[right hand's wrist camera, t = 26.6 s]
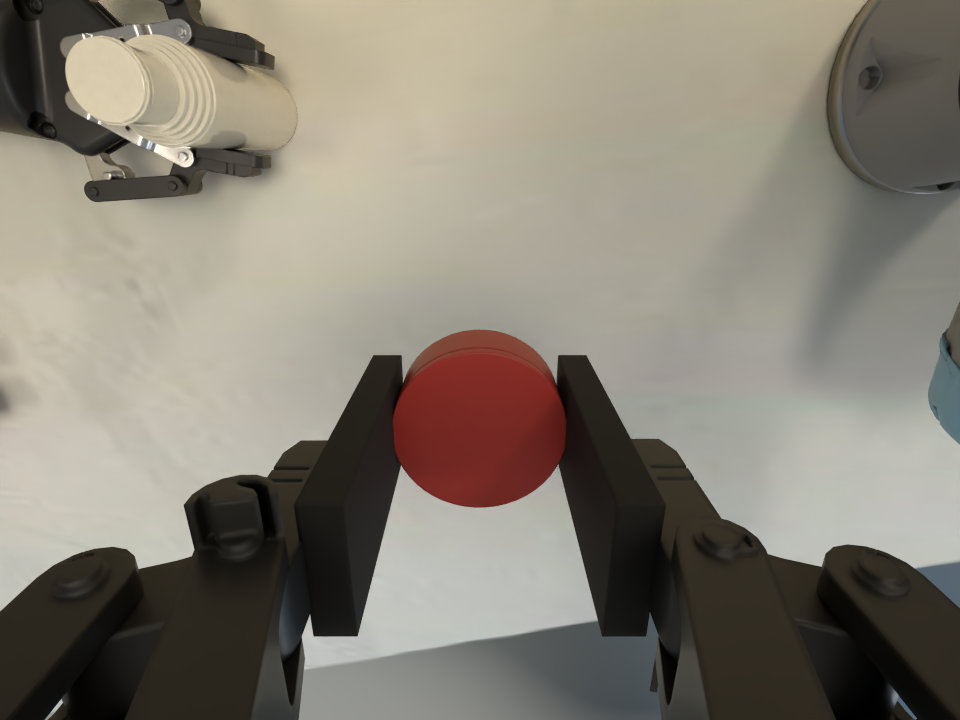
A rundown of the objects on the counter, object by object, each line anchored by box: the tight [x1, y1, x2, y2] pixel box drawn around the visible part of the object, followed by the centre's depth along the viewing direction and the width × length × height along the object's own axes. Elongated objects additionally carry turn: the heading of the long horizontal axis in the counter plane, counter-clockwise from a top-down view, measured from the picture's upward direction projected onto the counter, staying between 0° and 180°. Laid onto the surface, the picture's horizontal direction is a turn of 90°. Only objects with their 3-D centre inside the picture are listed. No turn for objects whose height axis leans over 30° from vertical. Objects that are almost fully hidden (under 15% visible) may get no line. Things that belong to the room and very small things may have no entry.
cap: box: [393, 330, 567, 507], centre depth 14 cm, size 4×4×2 cm
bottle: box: [65, 34, 297, 150], centre depth 29 cm, size 5×5×17 cm
